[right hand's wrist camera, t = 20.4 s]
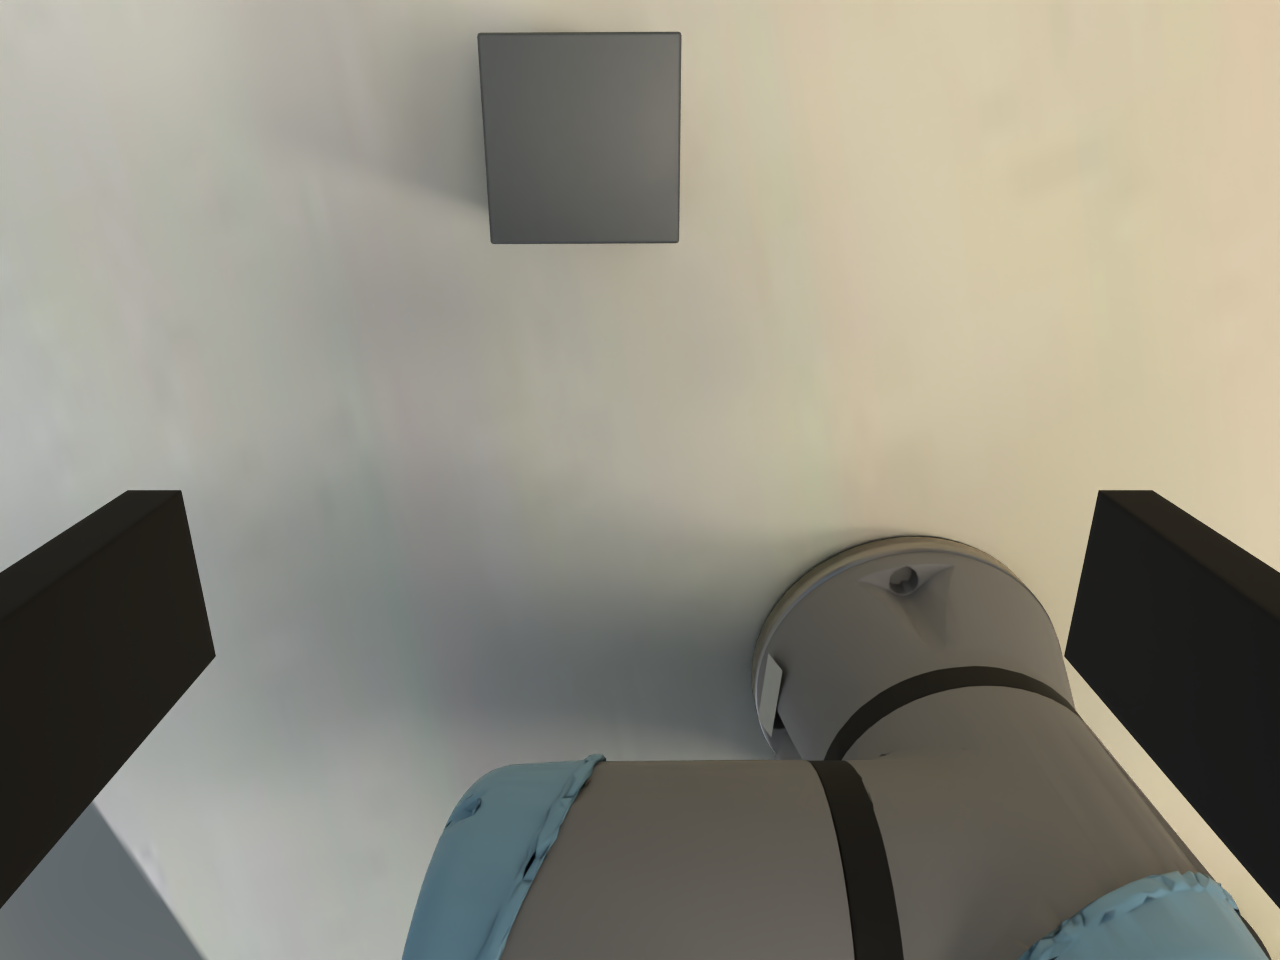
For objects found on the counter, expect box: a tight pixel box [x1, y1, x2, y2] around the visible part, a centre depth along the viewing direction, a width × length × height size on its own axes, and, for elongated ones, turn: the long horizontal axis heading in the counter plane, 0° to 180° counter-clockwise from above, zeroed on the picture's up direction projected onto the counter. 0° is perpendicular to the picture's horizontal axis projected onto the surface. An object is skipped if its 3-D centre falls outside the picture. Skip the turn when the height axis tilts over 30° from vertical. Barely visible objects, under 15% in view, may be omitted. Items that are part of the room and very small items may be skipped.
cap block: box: [477, 32, 681, 244], centre depth 30 cm, size 6×6×10 cm
